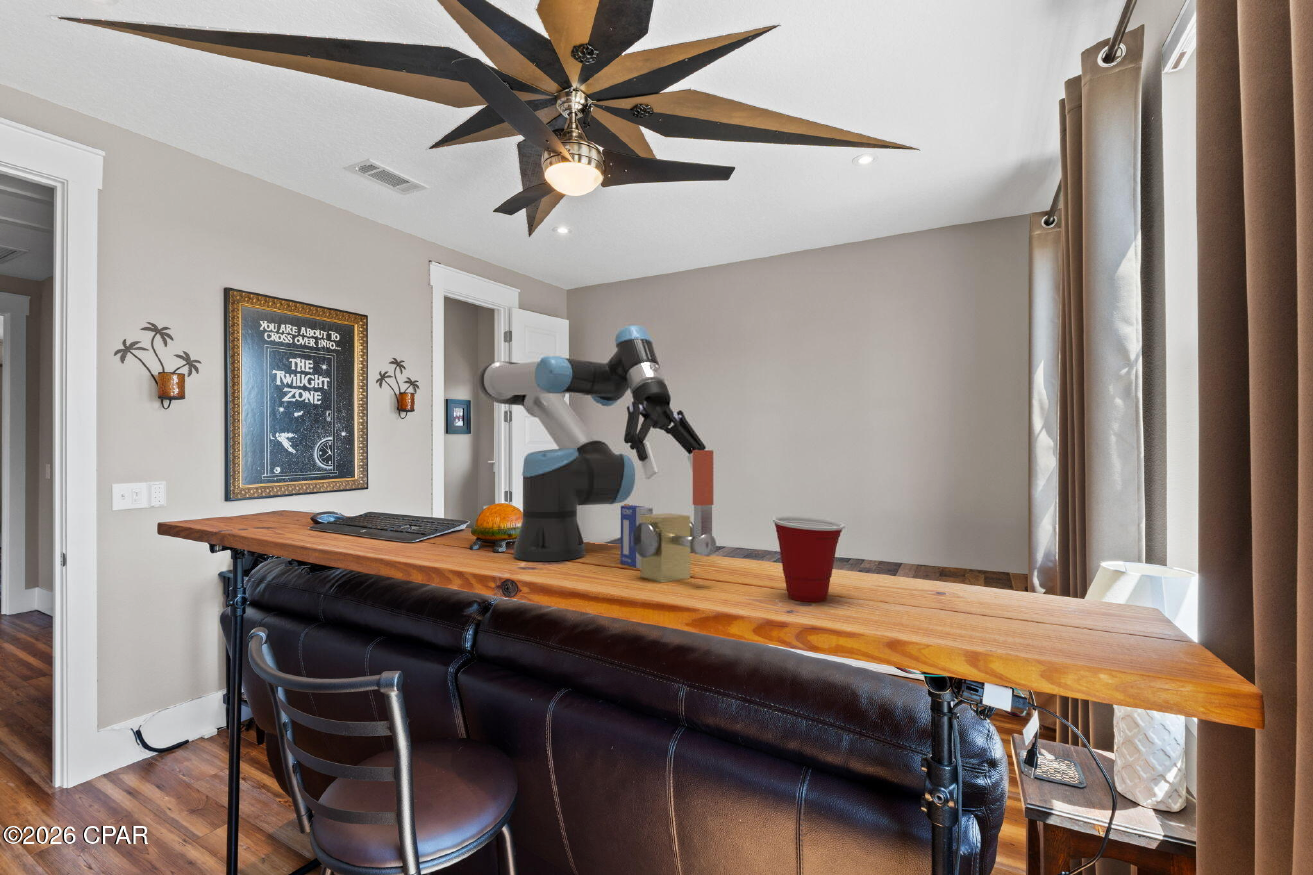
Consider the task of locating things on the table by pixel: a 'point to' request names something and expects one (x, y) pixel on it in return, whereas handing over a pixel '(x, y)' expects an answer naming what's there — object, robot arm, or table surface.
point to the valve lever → (703, 503)
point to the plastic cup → (807, 555)
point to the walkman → (631, 533)
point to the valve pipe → (664, 546)
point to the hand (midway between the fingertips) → (678, 478)
